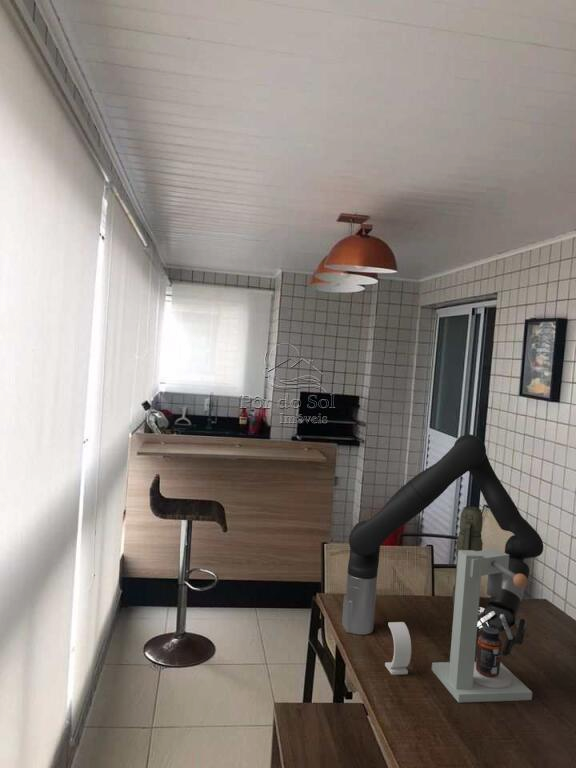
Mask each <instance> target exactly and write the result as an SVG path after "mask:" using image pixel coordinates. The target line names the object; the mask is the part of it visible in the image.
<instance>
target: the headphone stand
mask: <svg viewBox="0 0 576 768" xmlns="http://www.w3.org/2000/svg"><path fill="white" fill-rule="evenodd" d="M387 623H388V624H387V625H388V627H389V629H390V632H391V636H392V639H393V641H392V642H393V658H392V661H391V662H390V661H389V662H387V661H386V662H384V666H385V667H386V669H387V670H388V671H389V673H390V674H391V675H393V676H395V675H408V673H409V670H408V669H407V667H408V666H409V664H410V662H411V658H412V657H411V656H412V641H411V635H410V631H409V628H408V627H407V625H406V623H405V622H404V621H398V622H397V621H394V622H393V621H391V622H390V621H389V622H387Z"/></svg>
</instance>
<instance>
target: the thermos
mask: <svg viewBox="0 0 576 768" xmlns="http://www.w3.org/2000/svg"><path fill="white" fill-rule="evenodd" d="M459 516H460V519H459V531H458V533H459V534H458V537H457V539H456V546H455V547H456V548H455V556H456V565H455V577H454V578H455V579H454V585H453V587H452V603H451V604H452V605H453V606H454V602H455V589H456V576H457V561H458V550H474V551H482V550H483V544H484V543H483V540H482V531H483V520H484V516H483V512H482V509H481V508H479V507H477V506H472V505H467V506H463V508H462V510H461V512H460V515H459Z"/></svg>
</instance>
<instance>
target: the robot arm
mask: <svg viewBox="0 0 576 768" xmlns="http://www.w3.org/2000/svg"><path fill="white" fill-rule="evenodd" d="M468 472H469V474H470V475H471V476H472V478H473V480H474V481H475V483H476V485H477V486H478V488H479V490H480V492H481V494H482V496H483V499H484V501H485V503H486V505H487V507H488V509H489V510H490V512H491V514H492V516H493V518H494V520H495V521H496V523H497V525H498V526H499V527H500V529H501V530H502V531H506V532H511V533H512V534H513V535H511V536H510V537H509V538H508V539H507V541H506V542H505V545H504V553H506V554H509V566H508V570H510V571H511V572H513V573H515V574H523V575H525V576H526V578H527V580H528V578H529V575H530V567H529V565H528V564H527V563H526V562H525V561H524V560H525V559H531V558H537V557H539V556H541V555H543V552H544V542H543V540H542V538H541V535H540V534H539V533H538V532H537V530H535V528H534V527H533V526H532V525H531V524H530V523H529V522H528V521H527V520H526V519H525V518H524V517H523V516H522V515H521V513H520V511H519V509H518V507H517V505H515V502H514V500H513V499H512V497H511V495H510V494H509V492H508V491H507V490H506V488H505V487H504V485H503V484H502V482H501V480H500V479H499V477H498V476H497V474H496V472H495V471H494V469H493V466H492V465H491V462H490V459H489V458H488V454H487V447H486V445H485V443H484V441H483V440H482V439H481V438H480V437H478V436H477V435H474V434H468V433H467V434H463V435H461V436H459V437H458V438H457V439H456V441H455V442H454V445H453V446H452V447H451V448H450V449H449V451H447V452H446V454H444V455H443V456H442V457H441V458H440V459H439V460H438V461H437V462H435V463H434V464H432V465H431V466H429V467H427V468H426V469H424V470H423V471H421V472H419V473H418V474H416V475H415V476H414V477H412V478H411V479H410V480H408V481H407V482H406V483H405V484H404V485H403V486H401V487H400V488H399V489H398V490H397V491H396V492H395V493H394V494H393V495H392V497H391V498H390V499H389V500H388V501H387V502H386V504H385V505H384V506H383V507H382V508H381V510H379V511H378V512H377V513H376V514H375V515H373V516H372V517H371V518H370V519H368V520H362V521H359V522H357V523H356V524H355V525H354V526H353V528H352V529H351V531H350V534H349V536H348V544H349V547H350V549H349V557H348V558H349V559H348V563H347V578H346V589H345V590H346V591H345V594H344V595H343V602H342V603H343V604H342V616H341V617H342V618H341V626H342V627H343V629H344V630H345V632H346V633H349V634H350V633H351V634H355V635H363V636H364V635H369V634H372V633H373V631H374V625H375V612H376V611H375V609H376V596H377V581H378V572H379V562H380V549H381V546H382V544H383V543H384V542H386V540H387V539H388V538H389V537H391V535H392V534H393V533H394V532H395V531H397V530H399V528H401V527H402V526H404V525H405V524H407V523H408V522H410V521H411V520H412V519H414V518H415V517H416V516H417V515H419V514H421V513H422V512H423V511H425V509H427V508H428V507H429V506H431V505H432V503H434V502H435V501H436V500H437V498H440V496H441V495H442V494H443V493H444V492H445V491H446V490H447V489H448V488H449V487H450V486H451V485H452V484H453V483H454V482H456V480H458V479H459V478H460V477H462V476H463V475H465V474H466V473H468ZM525 588H526V586H525V587H523V588H519V587H517V586H516V585H515V584H514V582H513V579H512V578H510V577H509V576H507V575H505V574H504V573H503V578H502V590H501V597H493V596H490V598H489V601H488V603H487V606H486V607H485V608H484V607H481V606H479V610H478V617H480V616H482V615H484V616H483V617H480V619H478V623H477V636H476V642H478V638H479V636H480V635H479V634H480V631H483V628H485V627H490V628H494V629H496V630H498V632H499V631H500V632H504V631H505V633H506V635H507V636H506V637H507V639H506V640H505V643H504V646H503V647H502V648H503V649H502V650H501V654H502V655H503V656H504V657H508V656H509V655H511V653H512V649H513V646H514V644H518V645H522V644H523V641H524V637H525V633H526V630H527V623H526V620H525V619H524V618H520V619H518V618H516V617H517V614H518V611H519V610H520V605H521V603H522V601H523V596H524V593H525ZM514 625H516V627H517V631H516V635H513V634H512V631H511V629H510V628H512V627H513V626H514Z"/></svg>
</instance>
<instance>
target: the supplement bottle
mask: <svg viewBox="0 0 576 768" xmlns="http://www.w3.org/2000/svg"><path fill="white" fill-rule="evenodd" d="M499 633H500V632H499V630H497V629H494V628H491V627H490V626H489V627H485V628H483V629H482V634H480V635H478V638H477V650H476V659H475V660H476V661H475V662H476V670H477V671H478V672H479V673H480V674H482V675H484V676H488V677H496V676H498V675H499V671H500V662H501V659H502V658H501V657H502V648H503V647H502V644H503V642H502V640H501V639H500V637H499V635H500V634H499Z"/></svg>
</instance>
